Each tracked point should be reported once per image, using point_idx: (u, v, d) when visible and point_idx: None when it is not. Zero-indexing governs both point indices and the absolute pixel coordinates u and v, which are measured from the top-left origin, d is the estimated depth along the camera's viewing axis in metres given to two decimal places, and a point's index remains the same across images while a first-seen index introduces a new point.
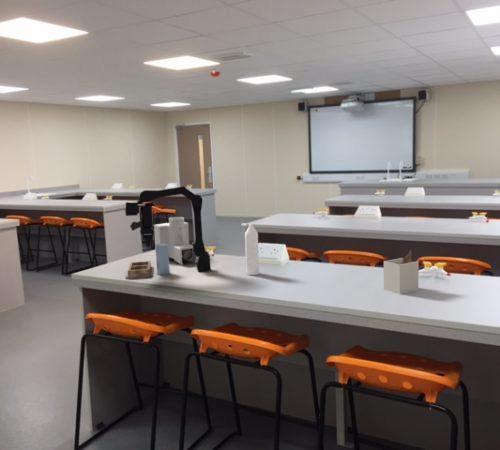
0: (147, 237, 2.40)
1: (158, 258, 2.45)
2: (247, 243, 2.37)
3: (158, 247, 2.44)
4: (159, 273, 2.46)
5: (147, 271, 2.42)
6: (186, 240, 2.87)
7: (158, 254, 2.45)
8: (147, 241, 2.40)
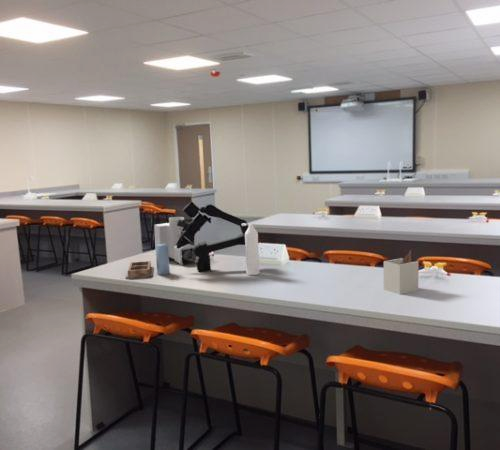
0: (184, 240, 2.43)
1: (158, 258, 2.45)
2: (247, 243, 2.37)
3: (158, 247, 2.44)
4: (159, 273, 2.46)
5: (147, 271, 2.42)
6: None
7: (158, 254, 2.45)
8: (181, 243, 2.43)
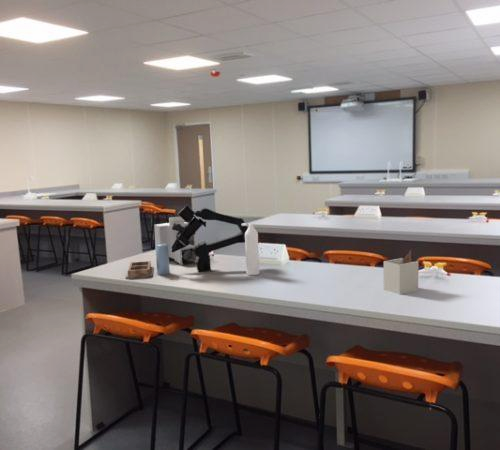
0: (179, 244, 2.43)
1: (158, 258, 2.45)
2: (247, 243, 2.37)
3: (158, 247, 2.44)
4: (159, 273, 2.46)
5: (147, 271, 2.42)
6: None
7: (158, 254, 2.45)
8: (176, 247, 2.43)
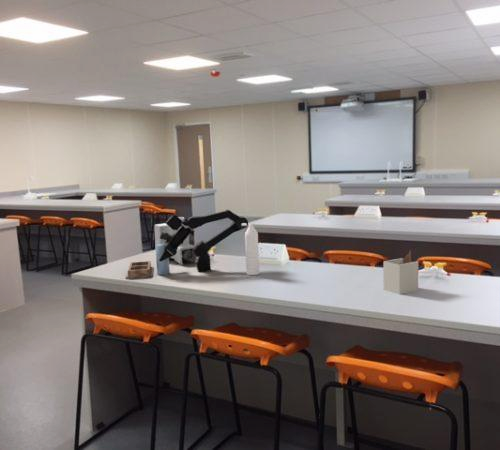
0: (166, 253, 2.42)
1: (158, 258, 2.45)
2: (247, 243, 2.37)
3: (158, 247, 2.44)
4: (159, 273, 2.46)
5: (147, 271, 2.42)
6: (186, 240, 2.87)
7: (158, 254, 2.45)
8: (163, 256, 2.43)
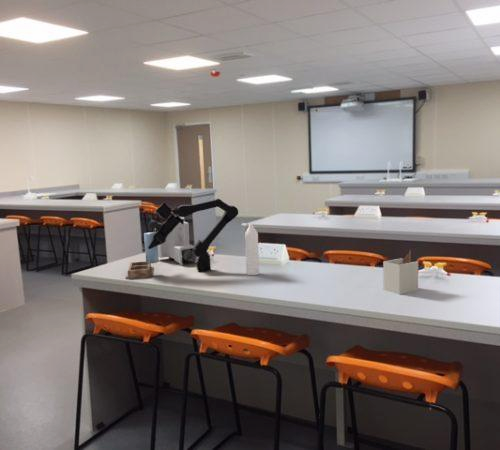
0: (155, 241, 2.42)
1: (147, 246, 2.44)
2: (247, 243, 2.37)
3: (146, 235, 2.43)
4: (148, 261, 2.45)
5: (147, 271, 2.42)
6: (186, 240, 2.87)
7: (147, 242, 2.43)
8: (152, 244, 2.42)
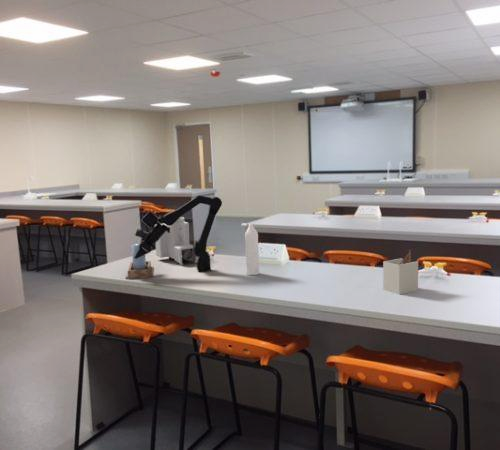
0: (141, 251, 2.40)
1: (134, 258, 2.44)
2: (247, 243, 2.37)
3: (134, 246, 2.43)
4: None
5: (147, 271, 2.42)
6: (186, 240, 2.87)
7: (134, 253, 2.43)
8: (138, 253, 2.40)
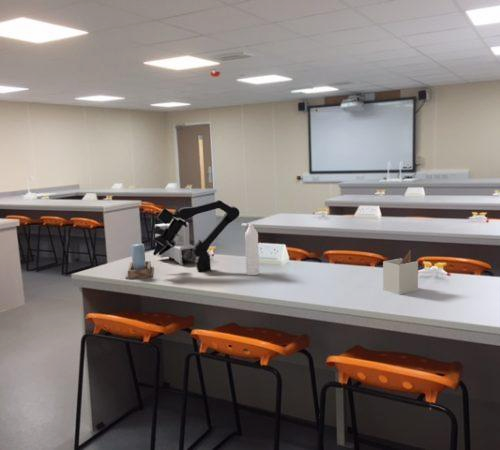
0: (159, 246, 2.42)
1: (134, 258, 2.43)
2: (247, 243, 2.37)
3: (133, 247, 2.42)
4: None
5: (147, 271, 2.42)
6: (187, 240, 2.87)
7: (134, 254, 2.43)
8: (156, 249, 2.42)
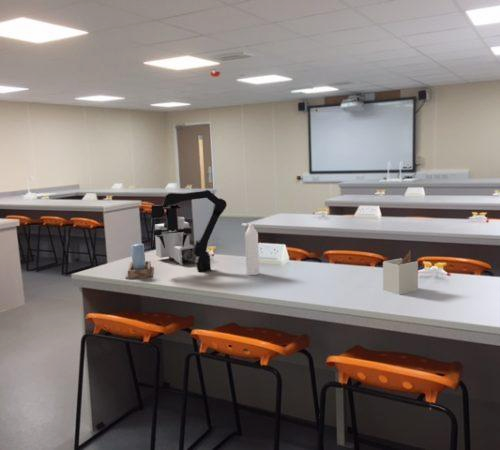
0: None
1: (133, 258, 2.43)
2: (247, 243, 2.37)
3: (133, 247, 2.42)
4: None
5: (147, 271, 2.42)
6: (187, 240, 2.87)
7: (133, 254, 2.43)
8: (162, 242, 2.47)
